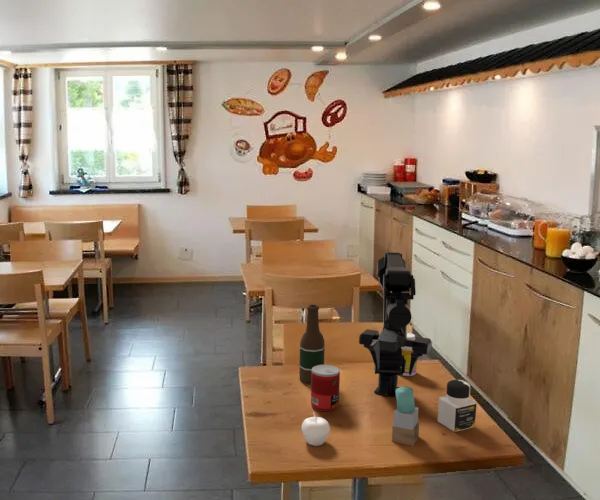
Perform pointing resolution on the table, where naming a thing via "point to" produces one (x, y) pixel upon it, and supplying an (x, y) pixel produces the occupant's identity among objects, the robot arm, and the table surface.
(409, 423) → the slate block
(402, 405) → the teal cylinder
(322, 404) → the canned food
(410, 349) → the supplement bottle
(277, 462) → the table surface
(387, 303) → the robot arm
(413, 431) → the walnut block
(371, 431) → the table surface
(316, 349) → the beer bottle
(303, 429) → the plain white apple
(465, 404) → the medicine bottle
